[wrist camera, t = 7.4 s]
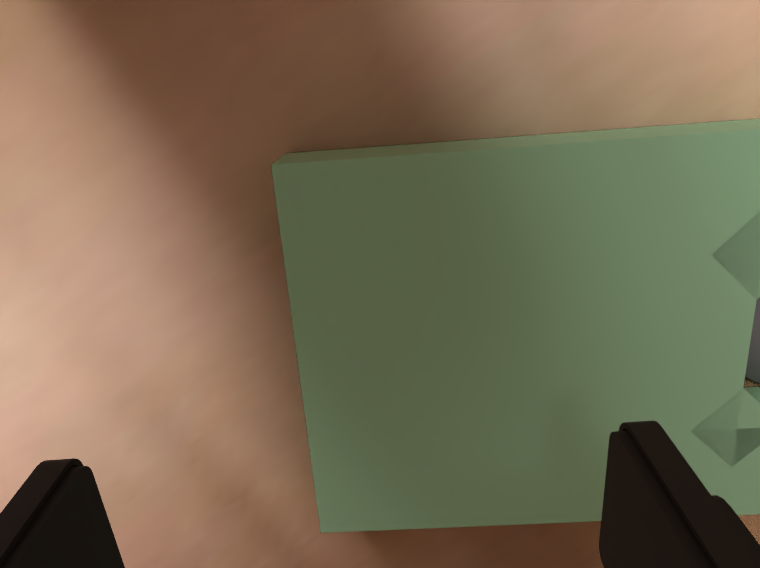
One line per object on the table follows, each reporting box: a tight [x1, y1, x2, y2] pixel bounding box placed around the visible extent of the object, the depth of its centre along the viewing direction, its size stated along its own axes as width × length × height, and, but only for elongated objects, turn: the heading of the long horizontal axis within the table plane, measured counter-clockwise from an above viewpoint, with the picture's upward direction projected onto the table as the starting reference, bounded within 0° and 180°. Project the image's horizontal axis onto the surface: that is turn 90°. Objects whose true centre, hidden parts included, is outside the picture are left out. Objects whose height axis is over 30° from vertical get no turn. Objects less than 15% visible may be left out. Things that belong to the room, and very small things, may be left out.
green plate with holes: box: [271, 119, 760, 533], centre depth 19 cm, size 13×22×2 cm, turn 94°
